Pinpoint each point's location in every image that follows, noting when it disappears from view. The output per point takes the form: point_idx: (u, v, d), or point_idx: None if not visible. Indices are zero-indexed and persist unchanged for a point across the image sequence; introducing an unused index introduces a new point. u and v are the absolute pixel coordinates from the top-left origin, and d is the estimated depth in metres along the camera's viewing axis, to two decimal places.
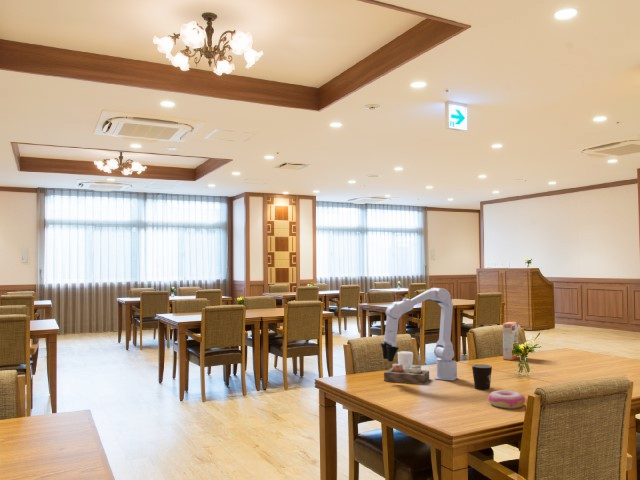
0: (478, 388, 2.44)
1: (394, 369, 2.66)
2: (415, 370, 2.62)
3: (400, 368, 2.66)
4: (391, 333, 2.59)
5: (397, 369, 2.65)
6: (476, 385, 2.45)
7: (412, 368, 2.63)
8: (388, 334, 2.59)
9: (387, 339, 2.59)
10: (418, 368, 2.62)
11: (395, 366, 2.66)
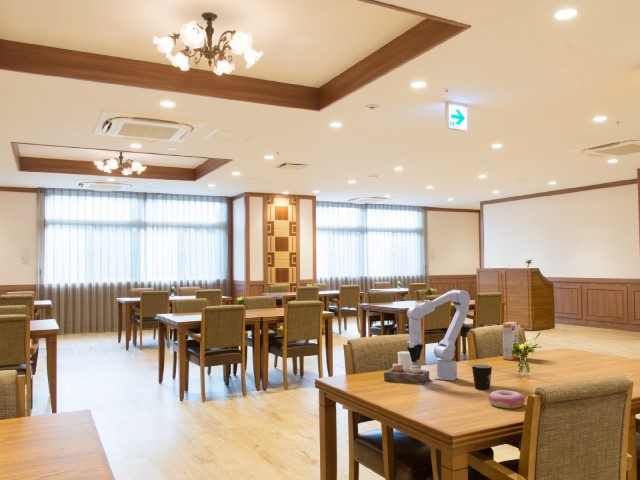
0: (478, 388, 2.44)
1: (394, 369, 2.66)
2: (415, 370, 2.62)
3: (400, 368, 2.66)
4: (412, 334, 2.63)
5: (397, 369, 2.65)
6: (476, 385, 2.45)
7: (412, 368, 2.63)
8: (410, 335, 2.64)
9: (410, 340, 2.64)
10: (418, 368, 2.62)
11: (395, 366, 2.66)
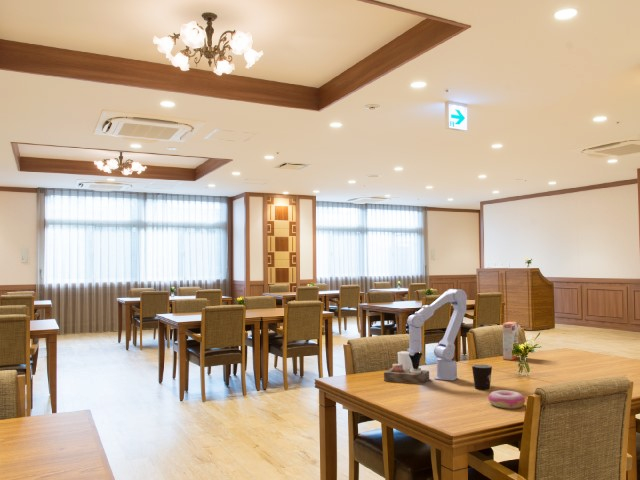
0: (478, 388, 2.44)
1: (394, 369, 2.66)
2: (415, 372, 2.62)
3: (400, 368, 2.66)
4: (412, 342, 2.62)
5: (397, 369, 2.65)
6: (476, 385, 2.45)
7: (412, 371, 2.62)
8: (410, 343, 2.63)
9: (410, 348, 2.64)
10: (418, 371, 2.62)
11: (395, 366, 2.66)
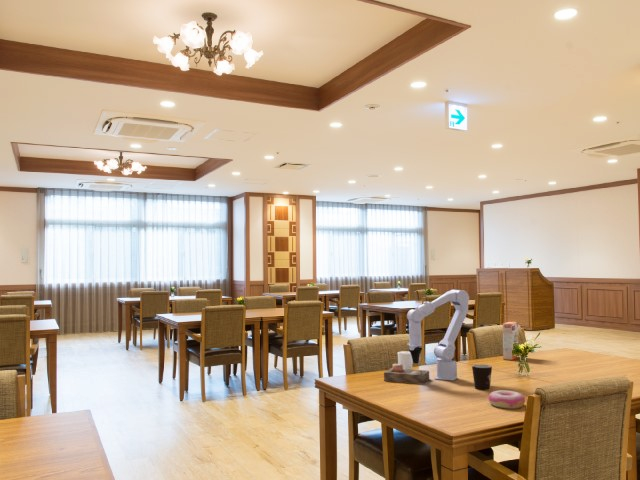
0: (478, 388, 2.44)
1: (394, 369, 2.66)
2: None
3: (400, 368, 2.66)
4: (412, 337, 2.63)
5: (397, 369, 2.65)
6: (476, 385, 2.45)
7: None
8: (410, 338, 2.64)
9: (410, 343, 2.64)
10: None
11: (395, 366, 2.66)
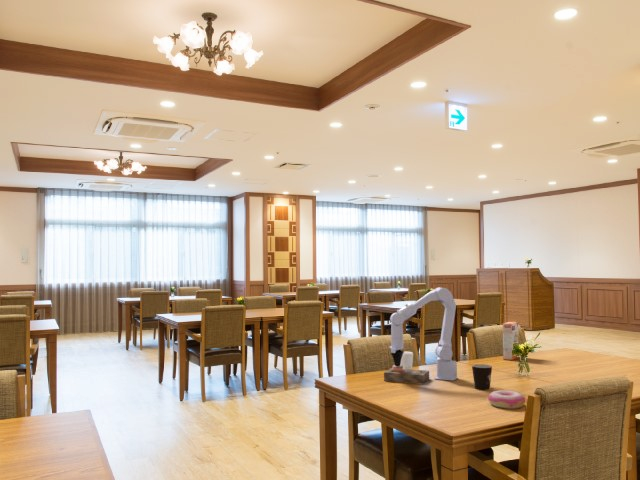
0: (478, 388, 2.44)
1: (394, 370, 2.66)
2: None
3: (400, 369, 2.66)
4: (394, 340, 2.66)
5: (397, 370, 2.65)
6: (476, 385, 2.45)
7: None
8: (392, 341, 2.67)
9: (392, 346, 2.67)
10: None
11: (395, 367, 2.66)
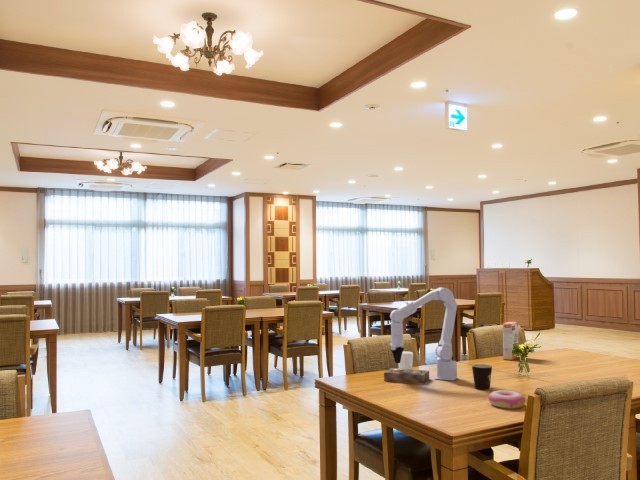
0: (478, 388, 2.44)
1: None
2: None
3: None
4: (394, 337, 2.66)
5: None
6: (476, 385, 2.45)
7: None
8: (392, 338, 2.67)
9: (392, 343, 2.67)
10: None
11: (395, 371, 2.66)
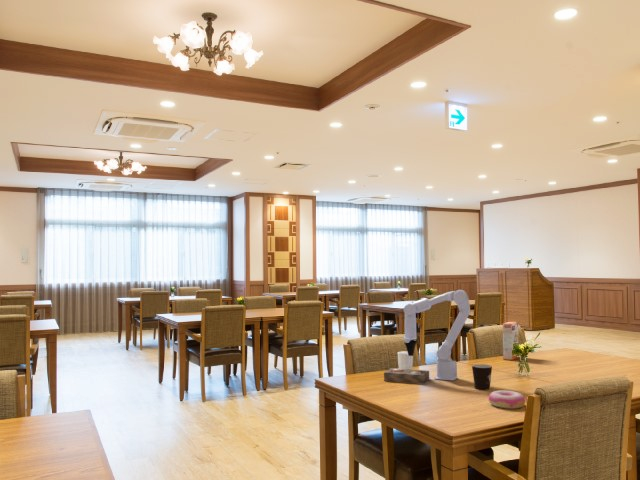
0: (478, 388, 2.44)
1: None
2: None
3: None
4: (407, 330, 2.72)
5: None
6: (476, 385, 2.45)
7: None
8: (405, 331, 2.73)
9: (405, 336, 2.73)
10: None
11: (395, 371, 2.66)
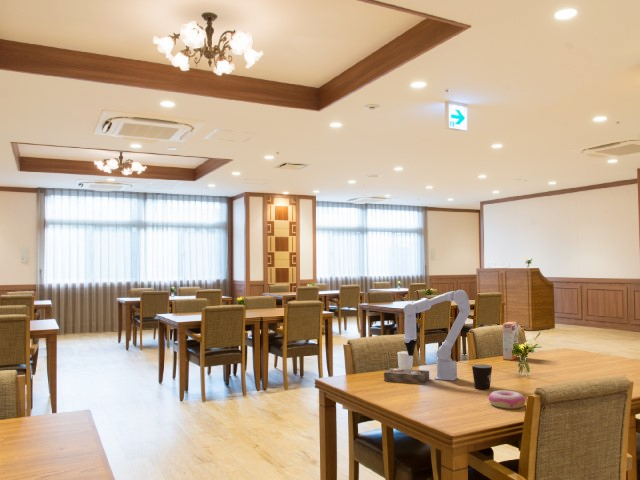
0: (478, 388, 2.44)
1: None
2: None
3: None
4: (407, 330, 2.72)
5: None
6: (476, 385, 2.45)
7: None
8: (405, 331, 2.73)
9: (405, 336, 2.73)
10: None
11: (395, 371, 2.66)
